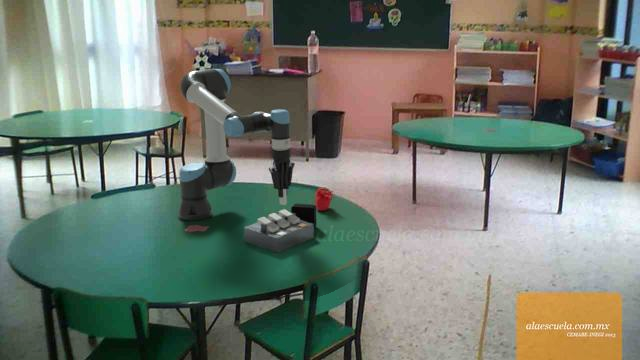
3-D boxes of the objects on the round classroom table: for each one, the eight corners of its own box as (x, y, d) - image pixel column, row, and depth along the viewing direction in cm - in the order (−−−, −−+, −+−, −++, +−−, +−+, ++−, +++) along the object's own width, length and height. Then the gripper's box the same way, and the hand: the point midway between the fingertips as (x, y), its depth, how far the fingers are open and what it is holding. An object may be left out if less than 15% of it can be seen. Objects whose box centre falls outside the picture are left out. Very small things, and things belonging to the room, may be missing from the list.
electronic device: (314, 230, 266) (314, 207, 263) (291, 228, 268) (291, 206, 265) (316, 226, 270) (316, 204, 267) (293, 225, 272) (293, 203, 269)
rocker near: (257, 222, 251) (257, 218, 250) (263, 219, 253) (263, 216, 253) (272, 232, 246) (273, 228, 245) (278, 230, 248) (279, 226, 248)
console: (244, 241, 254) (243, 220, 252) (280, 227, 269) (280, 207, 267) (277, 252, 242) (276, 231, 240) (313, 237, 257) (313, 216, 255)
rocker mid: (267, 218, 255) (268, 214, 254) (273, 216, 258) (274, 212, 257) (283, 228, 250) (283, 224, 250) (289, 226, 253) (289, 222, 252)
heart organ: (331, 204, 299) (331, 180, 295) (336, 212, 288) (336, 187, 284) (310, 205, 297) (310, 181, 294) (315, 213, 286) (314, 188, 282)
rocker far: (278, 214, 259) (278, 210, 259) (284, 212, 262) (284, 208, 261) (293, 224, 255) (294, 220, 254) (299, 222, 257) (300, 218, 256)
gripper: (276, 152, 245) (278, 209, 251) (299, 146, 254) (300, 202, 261) (262, 150, 250) (265, 206, 256) (285, 144, 259) (287, 198, 266)
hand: (283, 204), depth 259 cm, fingers closed
